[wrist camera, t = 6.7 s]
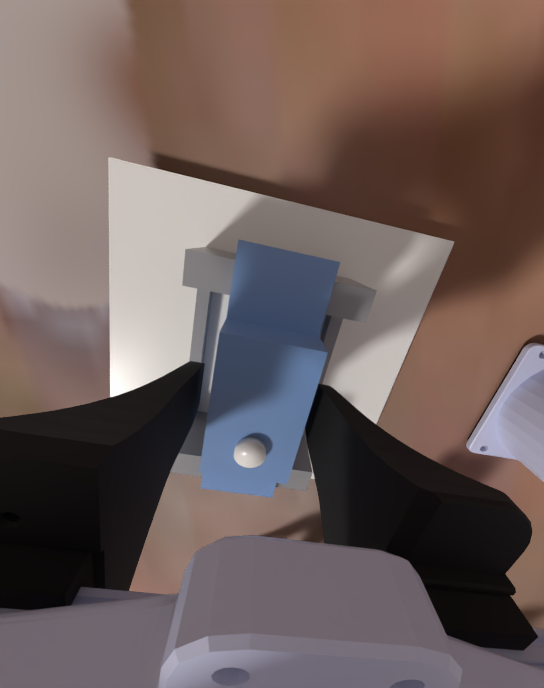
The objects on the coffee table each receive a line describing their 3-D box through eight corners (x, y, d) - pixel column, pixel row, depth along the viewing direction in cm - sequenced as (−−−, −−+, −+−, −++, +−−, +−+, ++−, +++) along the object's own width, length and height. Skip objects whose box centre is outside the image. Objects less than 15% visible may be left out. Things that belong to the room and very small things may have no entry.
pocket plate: (444, 241, 13) (517, 242, 10) (347, 474, 19) (368, 534, 15) (118, 162, 12) (46, 123, 8) (117, 441, 18) (74, 499, 14)
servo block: (321, 256, 12) (357, 267, 8) (270, 448, 17) (273, 536, 12) (245, 239, 12) (231, 239, 7) (213, 439, 16) (190, 527, 11)
